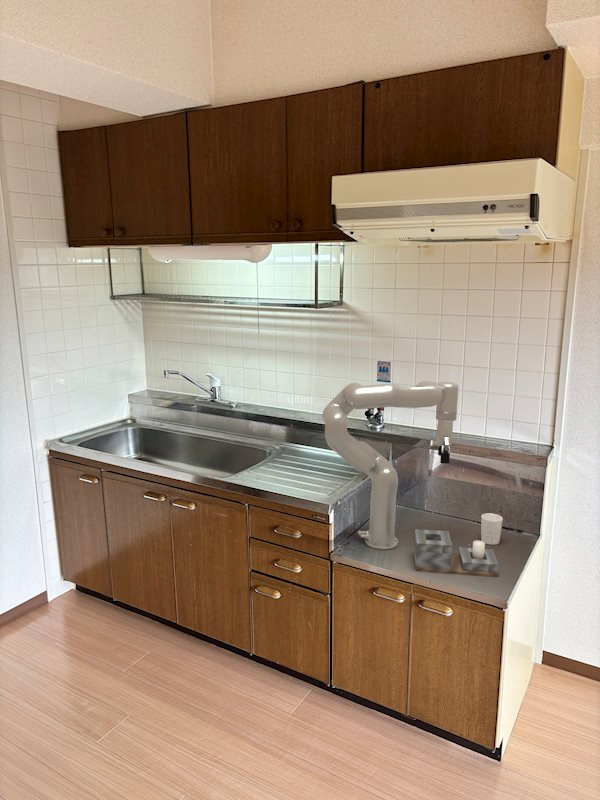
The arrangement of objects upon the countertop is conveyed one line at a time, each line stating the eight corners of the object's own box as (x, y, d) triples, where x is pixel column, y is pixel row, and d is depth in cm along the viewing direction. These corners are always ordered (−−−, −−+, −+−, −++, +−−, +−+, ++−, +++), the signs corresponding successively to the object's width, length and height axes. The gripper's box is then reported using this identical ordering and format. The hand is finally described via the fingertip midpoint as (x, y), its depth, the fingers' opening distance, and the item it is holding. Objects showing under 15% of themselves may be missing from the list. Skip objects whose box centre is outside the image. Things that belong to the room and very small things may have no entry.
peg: (472, 565, 216) (474, 544, 214) (470, 560, 220) (472, 540, 218) (484, 566, 216) (485, 545, 214) (482, 561, 219) (484, 540, 218)
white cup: (484, 535, 244) (486, 511, 242) (503, 540, 239) (505, 516, 237) (476, 541, 238) (478, 517, 236) (496, 547, 233) (498, 523, 231)
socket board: (415, 571, 214) (417, 544, 212) (413, 553, 228) (415, 528, 226) (498, 576, 210) (500, 550, 208) (491, 558, 224) (493, 532, 222)
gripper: (434, 409, 236) (431, 452, 240) (437, 420, 220) (435, 465, 223) (453, 410, 235) (451, 453, 239) (459, 421, 219) (456, 466, 222)
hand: (443, 459), depth 231 cm, fingers open, 9 cm apart
